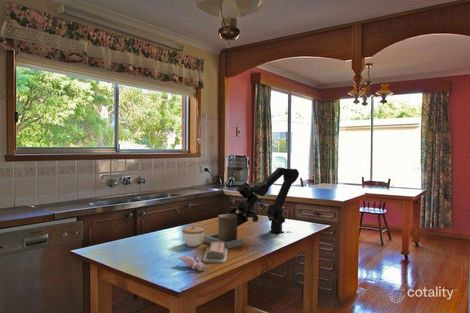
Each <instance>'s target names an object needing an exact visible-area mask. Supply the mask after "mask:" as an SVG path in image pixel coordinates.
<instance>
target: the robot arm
mask: <svg viewBox="0 0 470 313" xmlns="http://www.w3.org/2000/svg"><path fill="white" fill-rule="evenodd" d="M299 175H300V172H299V170H298V169H297V168H289V167H288V168H284V167H276V168H275V170H274V171H273V172H272V173H271V174H270V175H269V176H267V177H266V178H265V179H264V180H263V181H260V182H258V183H256V184H254V185H253V186H250V184H249V183H248V182H243V183H242V184H240V185H239V186H238V187H237V189H236V191H237V193H238V194H239V195H240V196H241V197H243V200H242V201H241V200H239V199H234V202H233V205H232V207H231V206H230V207H229V208H228V209H227V212H228V214H234V215H237V228H238V227H239V226H242V225H243V224H245V223H247V222H249V219H250V218H251V219H252V222H253V223H257V222H258V221H259V216H258V215H257V213H256V212H255V211H254V210H255V208H254V207H255V206H256V204H257V203H262V200H261V197H264V196H266V195H267V193H268V191H269V189H270V187H271V186H272V185H274V184H275V182H277V181H278V180H279V179H280V178H282V176H283V182H282V185H281V187H280V190H279V191H278V194H277V195H276V198H275V200H274V202H273V204H269V205H268V208H267V209H266V216H267V219H268V221H270V230H269V231H268V233H270V234H275V235H279V234H283V233H285V231H283V224H284V223H285V222H286V218H285V216H283V214H284V210H283V205H285V204H284V203H285V201H286V199H287V196H288V194H289V192H290V189H291V187H292V186H293V185H292V184H294V183H295V182H297V180H298V178H299ZM259 196H260V197H259ZM244 199H245V200H244Z"/></svg>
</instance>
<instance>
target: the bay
mask: <svg viewBox="0 0 470 313" xmlns="http://www.w3.org/2000/svg"><path fill="white" fill-rule="evenodd" d="M203 239H204V240H203V242H205V243H207V244H209V245H210V244H211V242H224V243H225V248H228V250H229V249H233V248H237V247H241V246H244V243H245V240H244V239H245V238H243V237H242V238H237V239H236V240H232V241H228V242H226V241H223V240H220V239H218V232H216V233H211V234H206V235H204V236H203Z"/></svg>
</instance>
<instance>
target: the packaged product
mask: <svg viewBox="0 0 470 313" xmlns="http://www.w3.org/2000/svg"><path fill="white" fill-rule="evenodd" d="M228 250H229V249H228V248H225V243H224V242H211V244H210V243H209V246H207V247H206V250H205V252H204V255H203V259H202V263H223V264H224V263H227V257H228Z"/></svg>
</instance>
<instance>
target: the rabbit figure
mask: <svg viewBox="0 0 470 313" xmlns="http://www.w3.org/2000/svg"><path fill="white" fill-rule="evenodd" d="M177 259H180V261H182V262H183V263H184V264H185V265H186V267H187V268H189V269H190V268H191V269H194V268H195V269H197V271H198V272H202V273H205V271H206V269H207V271H209V270H210V267H209V266H208V265H205V263H204V262H201V261H200V259H199V258H198V255H197V254H195V255H194V256H193V257H192V256H188V255H182V256H179V257H177Z"/></svg>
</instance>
